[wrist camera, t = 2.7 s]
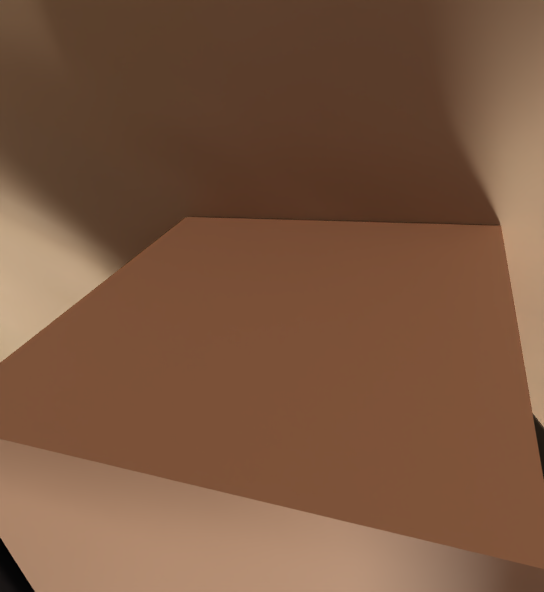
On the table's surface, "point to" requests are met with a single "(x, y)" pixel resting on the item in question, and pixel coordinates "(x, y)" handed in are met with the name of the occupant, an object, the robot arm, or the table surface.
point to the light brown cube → (279, 418)
